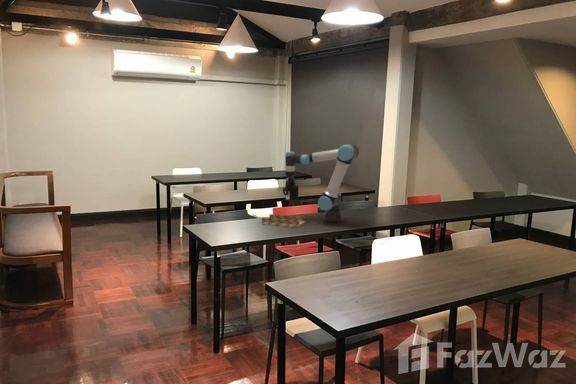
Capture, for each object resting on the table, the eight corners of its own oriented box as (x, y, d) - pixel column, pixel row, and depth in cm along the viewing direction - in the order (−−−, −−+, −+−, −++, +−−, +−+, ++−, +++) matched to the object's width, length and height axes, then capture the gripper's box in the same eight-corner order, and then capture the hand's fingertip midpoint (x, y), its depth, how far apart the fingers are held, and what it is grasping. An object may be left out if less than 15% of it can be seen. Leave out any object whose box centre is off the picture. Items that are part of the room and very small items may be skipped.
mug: (293, 201, 370) (293, 186, 368) (279, 200, 379) (279, 185, 377) (301, 199, 379) (301, 185, 377) (287, 198, 387) (287, 183, 386)
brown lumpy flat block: (305, 223, 365) (305, 217, 365) (298, 227, 350) (298, 220, 350) (270, 220, 376) (270, 214, 375) (262, 224, 361) (262, 217, 361)
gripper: (290, 169, 387) (290, 196, 390) (280, 172, 366) (280, 200, 369) (299, 169, 384) (299, 196, 387) (289, 172, 363) (289, 200, 366)
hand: (290, 198), depth 378 cm, fingers closed on mug, 10 cm apart
